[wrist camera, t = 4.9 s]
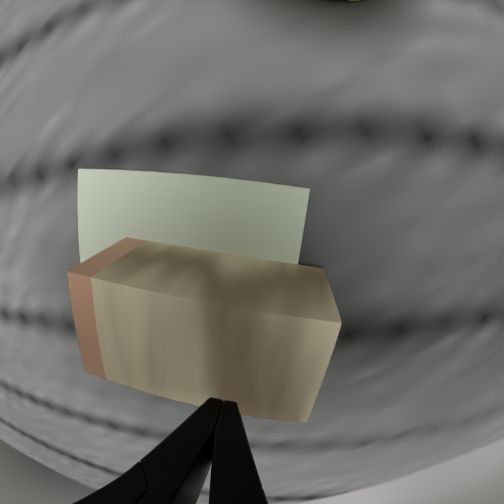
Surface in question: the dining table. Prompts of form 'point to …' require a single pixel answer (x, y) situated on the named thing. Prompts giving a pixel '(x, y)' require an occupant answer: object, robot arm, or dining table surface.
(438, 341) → the dining table surface
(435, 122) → the dining table surface
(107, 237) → the sage mat
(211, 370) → the birch block
